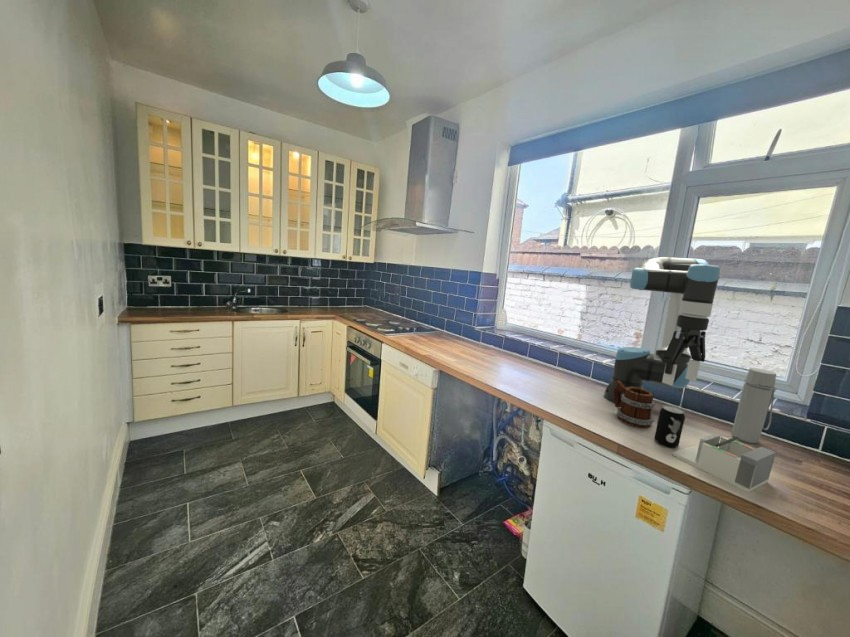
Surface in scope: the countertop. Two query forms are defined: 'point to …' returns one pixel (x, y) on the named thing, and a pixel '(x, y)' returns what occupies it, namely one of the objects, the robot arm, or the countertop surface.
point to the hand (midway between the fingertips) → (679, 381)
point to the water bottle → (754, 405)
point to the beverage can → (669, 426)
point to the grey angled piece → (714, 443)
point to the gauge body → (732, 463)
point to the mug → (634, 405)
